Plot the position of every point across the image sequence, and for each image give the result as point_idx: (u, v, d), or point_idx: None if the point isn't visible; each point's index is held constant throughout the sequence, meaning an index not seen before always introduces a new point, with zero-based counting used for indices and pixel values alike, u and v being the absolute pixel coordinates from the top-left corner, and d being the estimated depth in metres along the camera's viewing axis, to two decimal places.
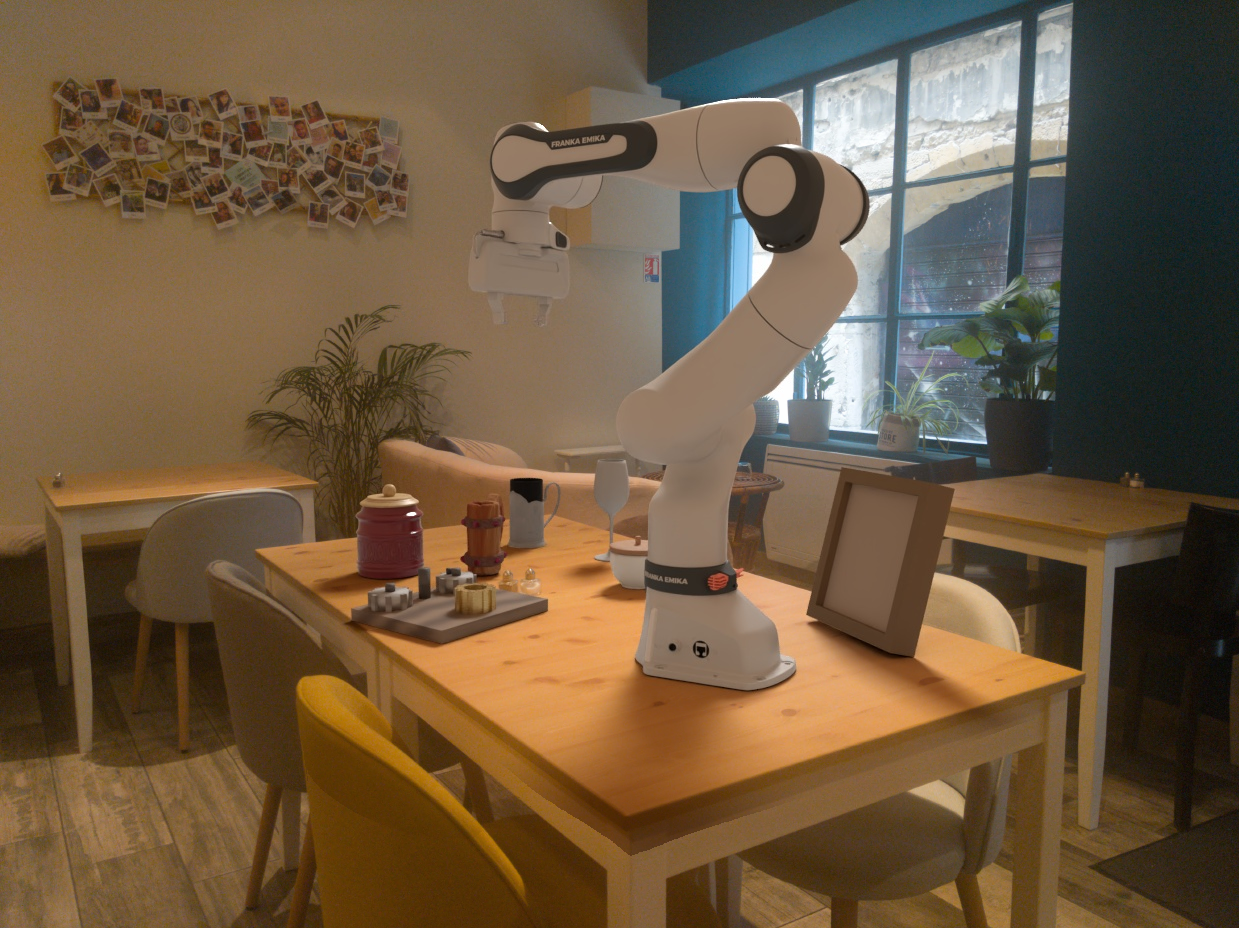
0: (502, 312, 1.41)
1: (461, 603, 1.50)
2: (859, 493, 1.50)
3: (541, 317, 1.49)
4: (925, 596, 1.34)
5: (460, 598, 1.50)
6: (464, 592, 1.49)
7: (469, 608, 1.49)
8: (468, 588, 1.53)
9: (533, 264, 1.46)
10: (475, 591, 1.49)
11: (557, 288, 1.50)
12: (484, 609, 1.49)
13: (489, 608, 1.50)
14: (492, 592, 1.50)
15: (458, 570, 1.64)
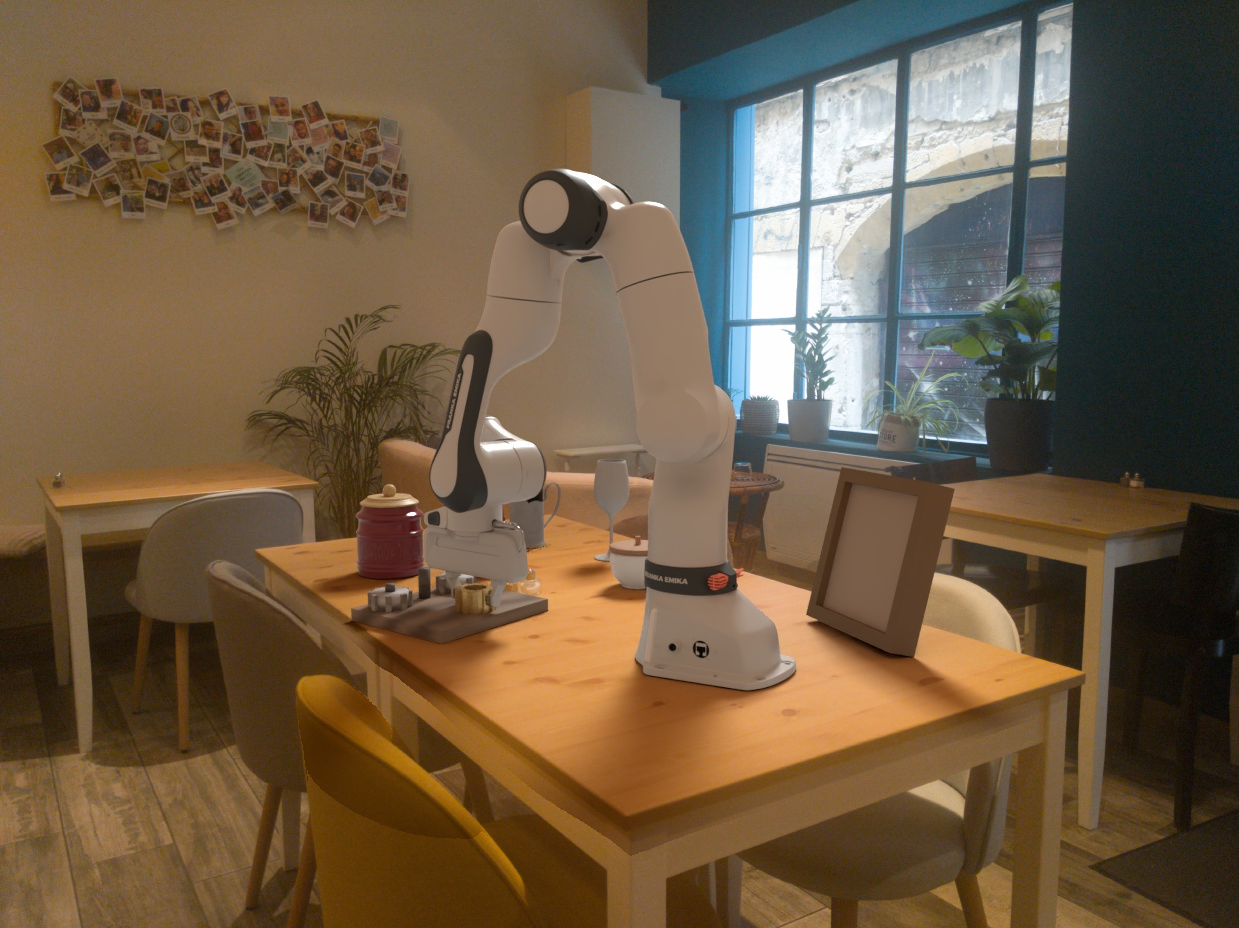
0: None
1: (461, 603, 1.50)
2: (858, 493, 1.50)
3: None
4: (925, 596, 1.34)
5: (460, 598, 1.50)
6: (464, 592, 1.49)
7: (469, 608, 1.49)
8: (468, 588, 1.53)
9: None
10: (475, 591, 1.49)
11: None
12: (484, 609, 1.49)
13: (489, 608, 1.50)
14: None
15: None
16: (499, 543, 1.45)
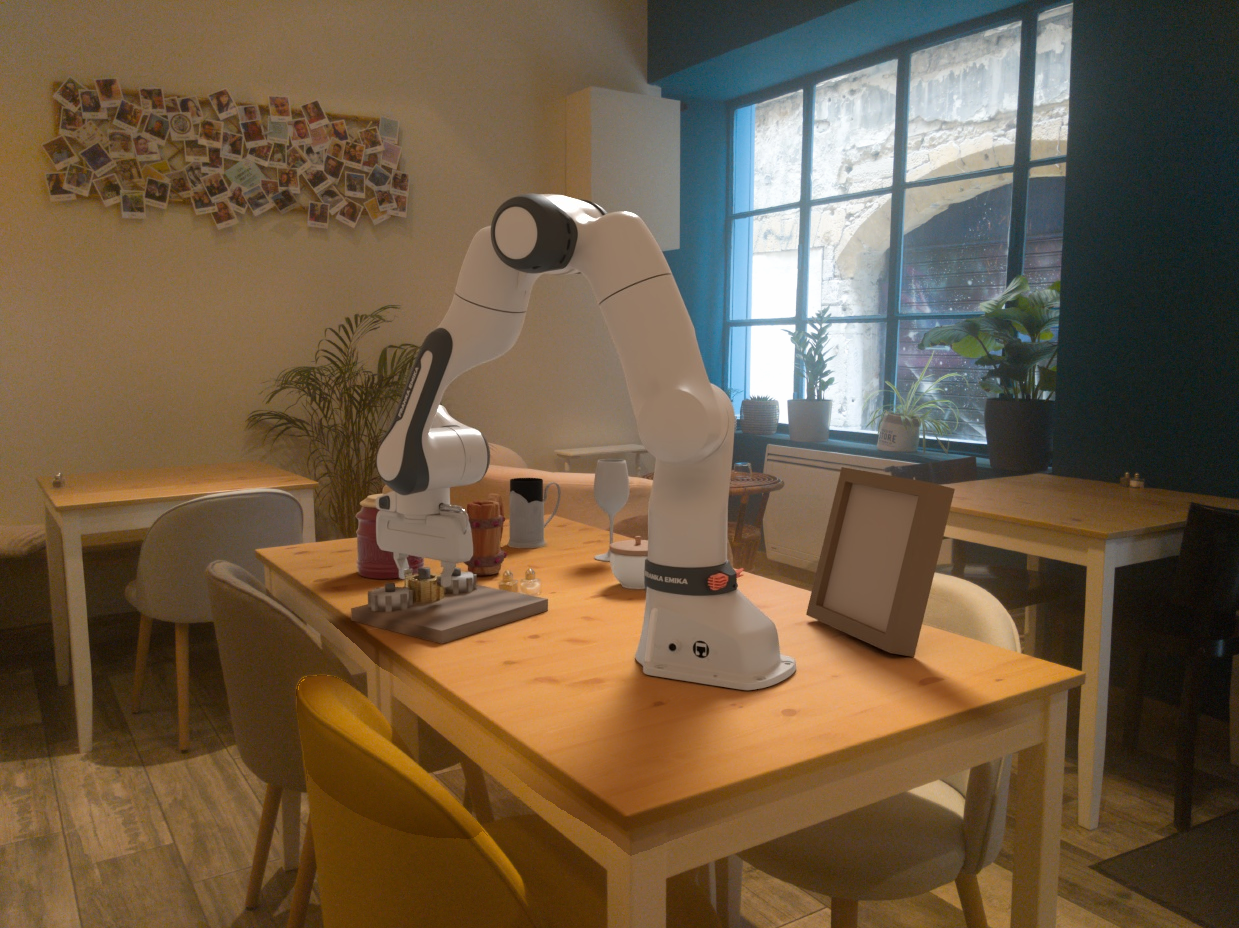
0: None
1: None
2: (859, 493, 1.50)
3: (411, 570, 1.62)
4: (925, 596, 1.34)
5: (409, 587, 1.57)
6: (413, 581, 1.56)
7: (418, 597, 1.56)
8: None
9: None
10: (423, 580, 1.56)
11: None
12: (432, 598, 1.56)
13: (437, 597, 1.57)
14: None
15: (458, 570, 1.64)
16: (445, 525, 1.52)
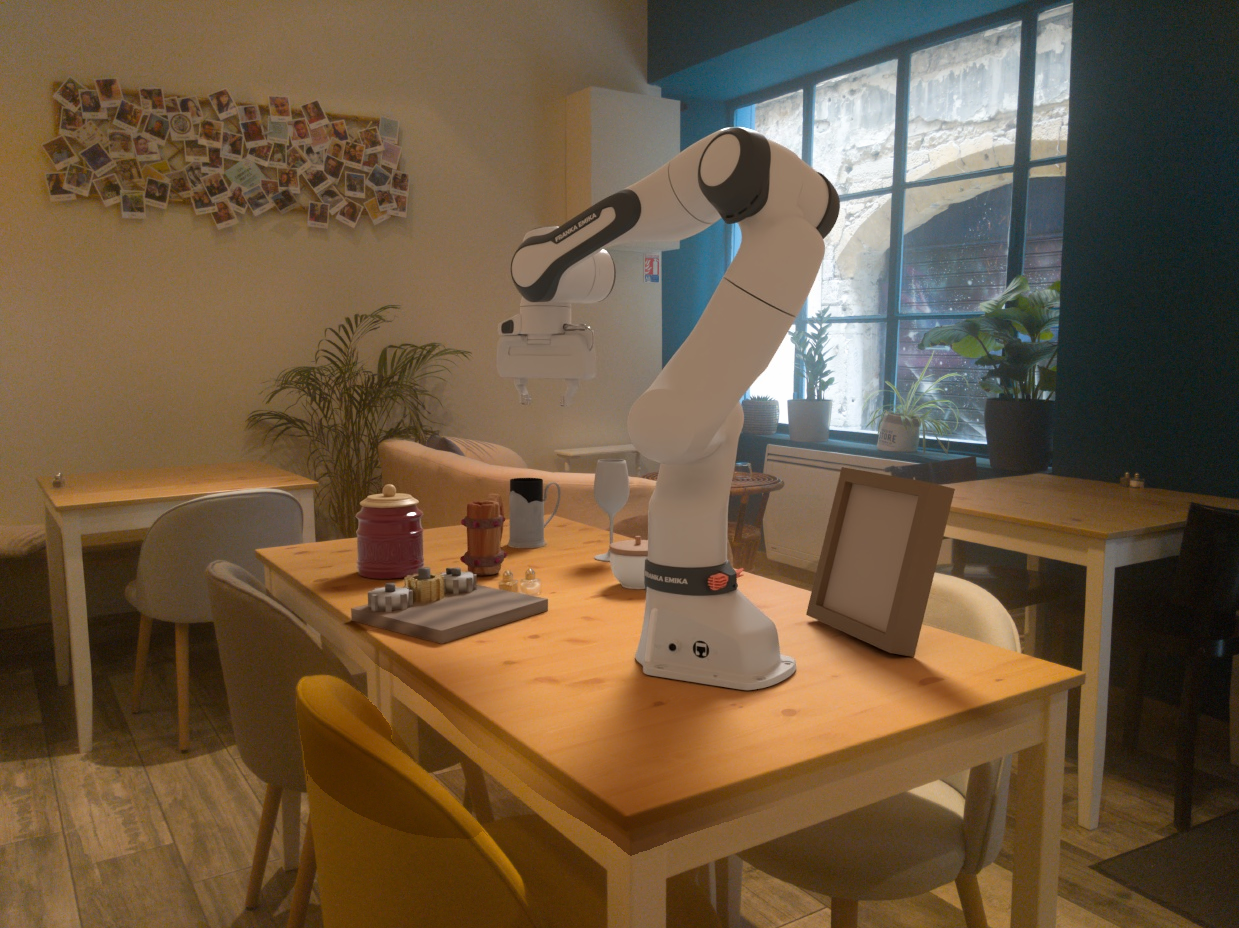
0: (572, 396, 1.61)
1: None
2: (859, 493, 1.50)
3: (531, 396, 1.66)
4: (925, 596, 1.34)
5: (409, 587, 1.57)
6: (413, 581, 1.56)
7: (418, 597, 1.56)
8: None
9: None
10: (423, 580, 1.56)
11: None
12: (432, 598, 1.56)
13: (437, 597, 1.57)
14: (440, 581, 1.57)
15: (458, 570, 1.64)
16: (571, 342, 1.56)
